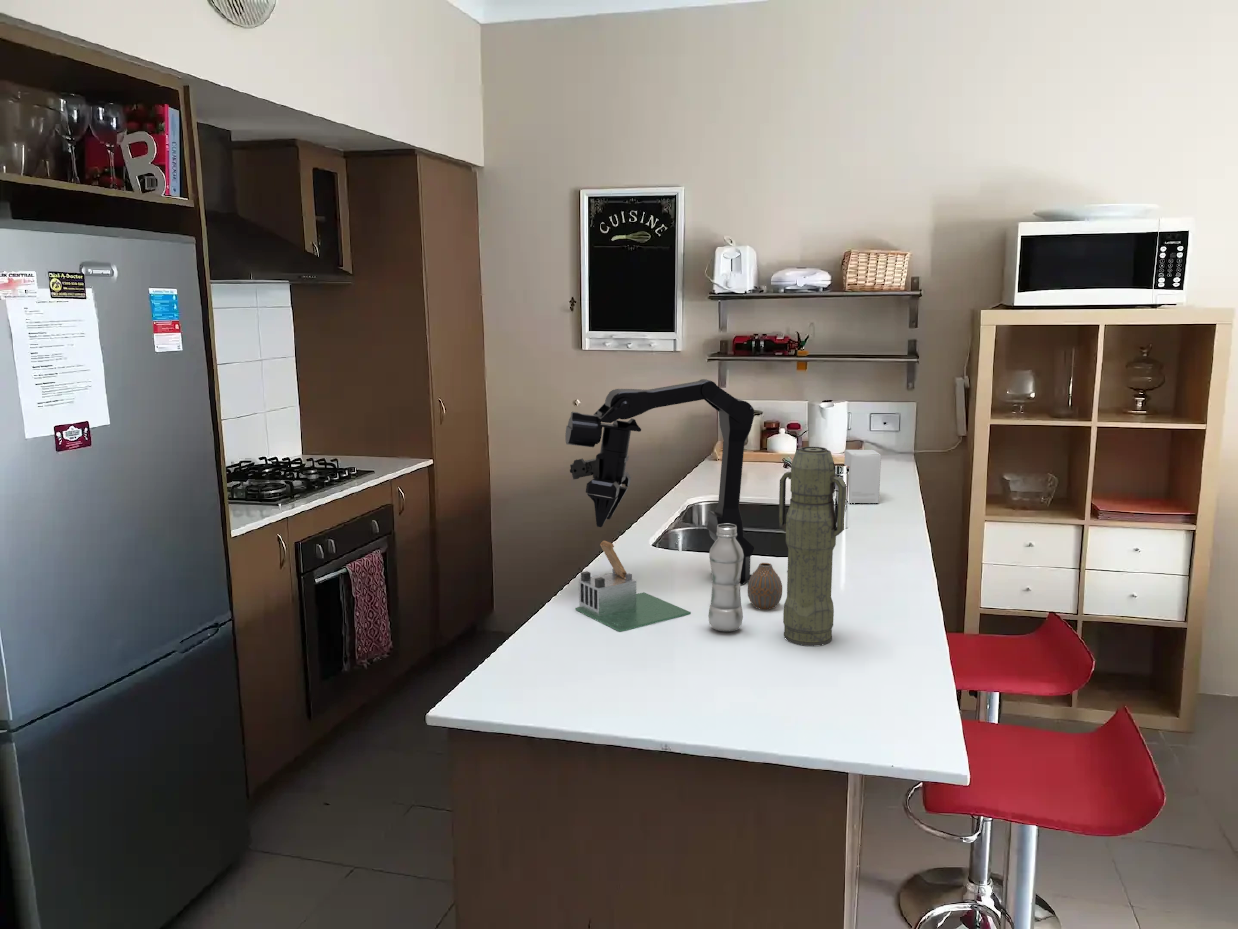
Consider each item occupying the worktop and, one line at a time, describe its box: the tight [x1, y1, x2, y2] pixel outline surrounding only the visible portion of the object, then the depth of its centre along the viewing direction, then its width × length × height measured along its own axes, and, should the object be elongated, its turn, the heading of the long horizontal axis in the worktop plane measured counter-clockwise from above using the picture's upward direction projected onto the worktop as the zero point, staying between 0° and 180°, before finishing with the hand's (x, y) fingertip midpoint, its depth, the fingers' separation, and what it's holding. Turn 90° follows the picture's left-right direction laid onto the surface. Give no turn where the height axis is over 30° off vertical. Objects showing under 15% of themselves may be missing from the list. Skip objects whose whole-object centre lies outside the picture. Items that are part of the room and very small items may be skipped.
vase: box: [747, 562, 783, 610], centre depth 193 cm, size 7×7×9 cm
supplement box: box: [843, 449, 882, 505], centre depth 286 cm, size 9×9×15 cm
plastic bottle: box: [708, 524, 744, 632], centre depth 179 cm, size 6×7×20 cm
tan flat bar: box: [599, 540, 628, 579], centre depth 192 cm, size 8×3×1 cm
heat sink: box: [575, 568, 692, 633], centre depth 190 cm, size 17×16×8 cm
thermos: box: [778, 446, 847, 647], centre depth 173 cm, size 9×12×35 cm
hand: (603, 522), depth 203 cm, fingers open, 9 cm apart
